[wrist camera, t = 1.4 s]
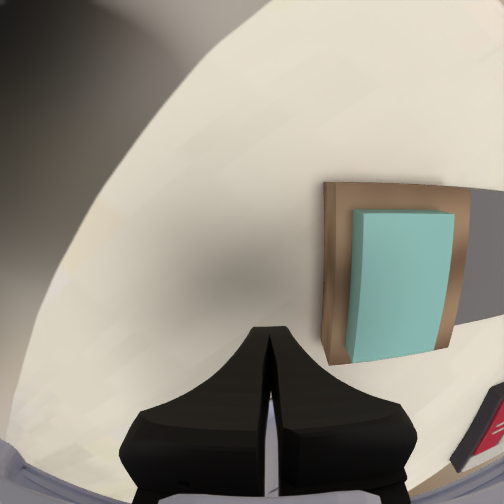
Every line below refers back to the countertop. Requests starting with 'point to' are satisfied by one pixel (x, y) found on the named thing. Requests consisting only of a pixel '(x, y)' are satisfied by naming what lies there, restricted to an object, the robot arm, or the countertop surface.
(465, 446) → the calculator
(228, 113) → the countertop surface
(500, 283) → the mat
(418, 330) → the block
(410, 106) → the countertop surface
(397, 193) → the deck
